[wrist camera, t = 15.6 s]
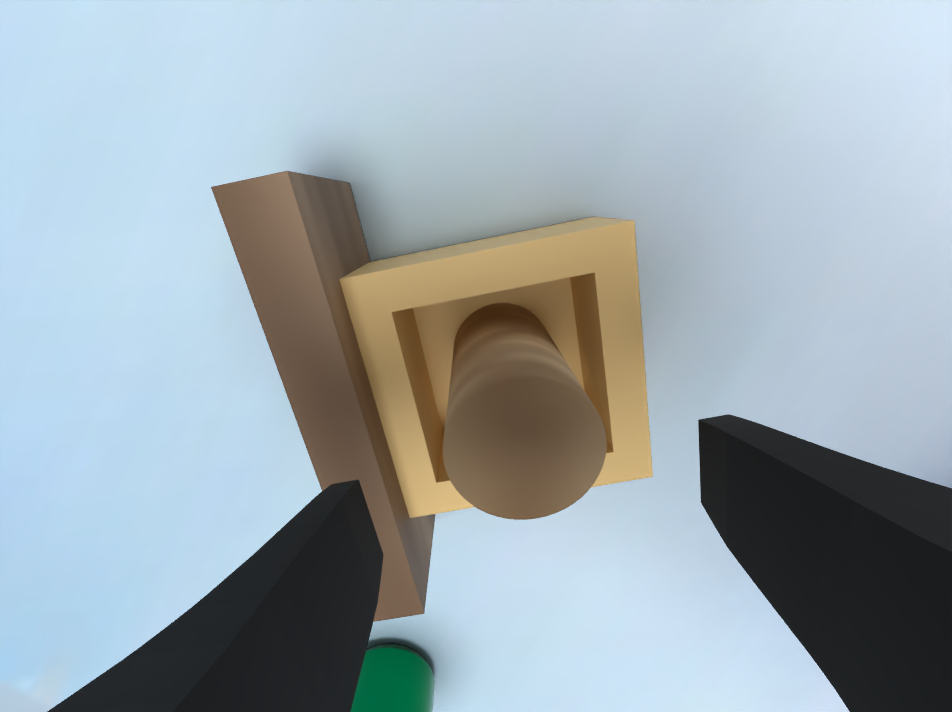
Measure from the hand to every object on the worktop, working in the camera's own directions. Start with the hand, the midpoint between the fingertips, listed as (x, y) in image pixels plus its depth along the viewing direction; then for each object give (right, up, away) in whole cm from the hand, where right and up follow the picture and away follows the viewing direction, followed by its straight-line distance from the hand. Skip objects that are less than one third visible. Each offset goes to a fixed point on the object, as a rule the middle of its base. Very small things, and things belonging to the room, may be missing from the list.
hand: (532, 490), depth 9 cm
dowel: (0, +3, +9) cm, 10 cm away
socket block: (0, +3, +10) cm, 10 cm away
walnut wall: (-6, +2, +10) cm, 12 cm away
